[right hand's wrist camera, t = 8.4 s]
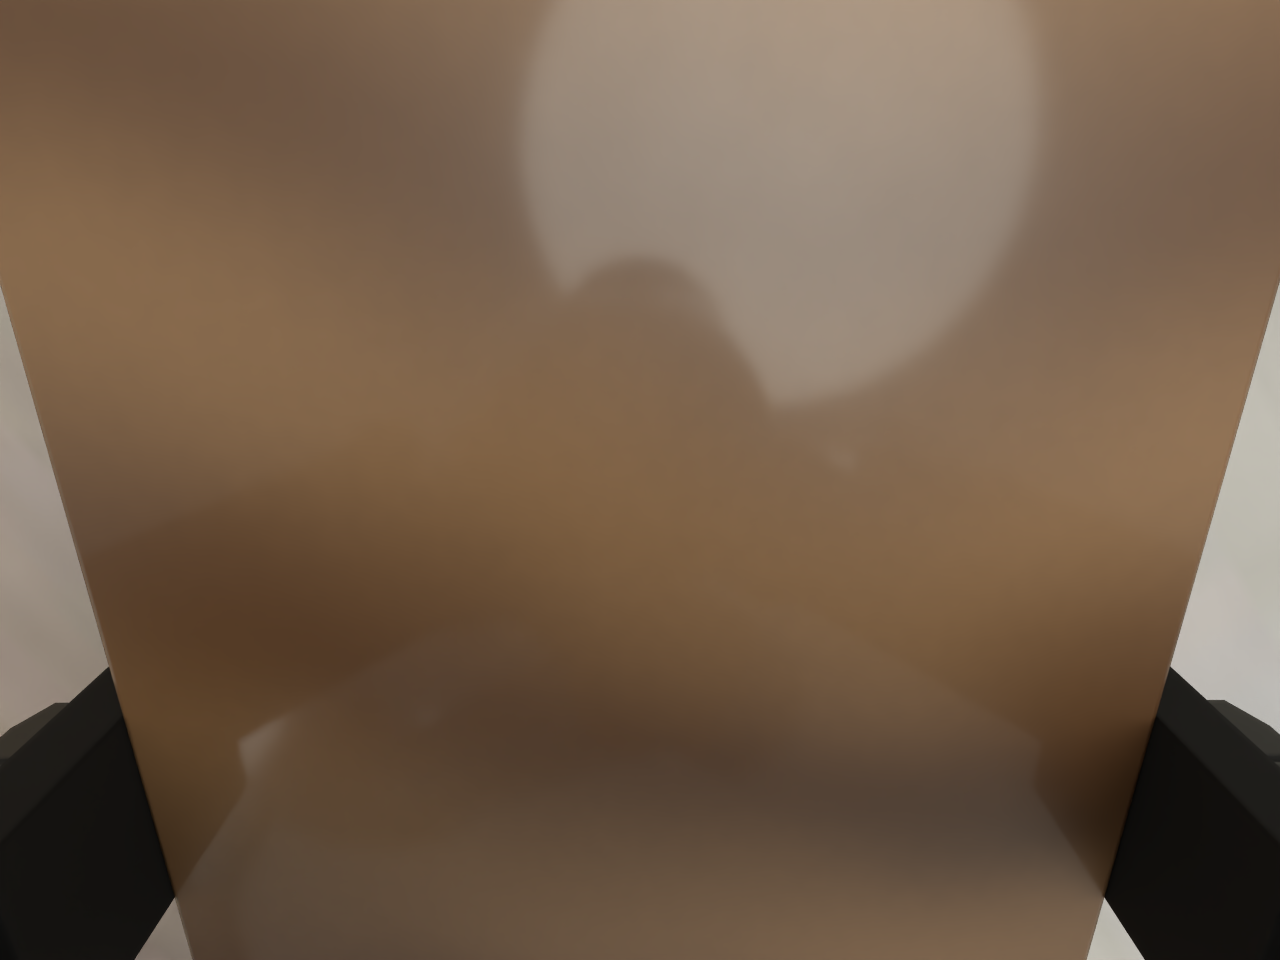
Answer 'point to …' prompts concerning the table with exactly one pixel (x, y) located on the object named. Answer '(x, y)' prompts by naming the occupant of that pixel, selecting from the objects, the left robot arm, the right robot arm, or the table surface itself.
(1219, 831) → the right robot arm
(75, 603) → the table surface
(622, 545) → the cabinet
